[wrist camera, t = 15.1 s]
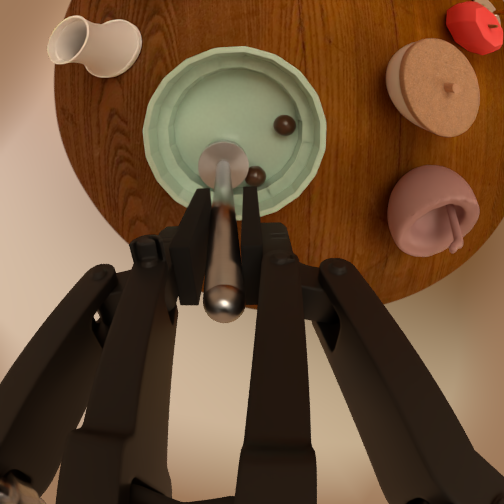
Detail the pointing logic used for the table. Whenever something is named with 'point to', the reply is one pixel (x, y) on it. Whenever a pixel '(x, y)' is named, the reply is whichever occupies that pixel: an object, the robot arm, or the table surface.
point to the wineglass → (491, 8)
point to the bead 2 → (284, 125)
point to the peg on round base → (223, 231)
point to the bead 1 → (255, 176)
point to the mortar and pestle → (431, 211)
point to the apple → (474, 27)
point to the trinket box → (434, 86)
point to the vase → (95, 45)
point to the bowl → (235, 123)
